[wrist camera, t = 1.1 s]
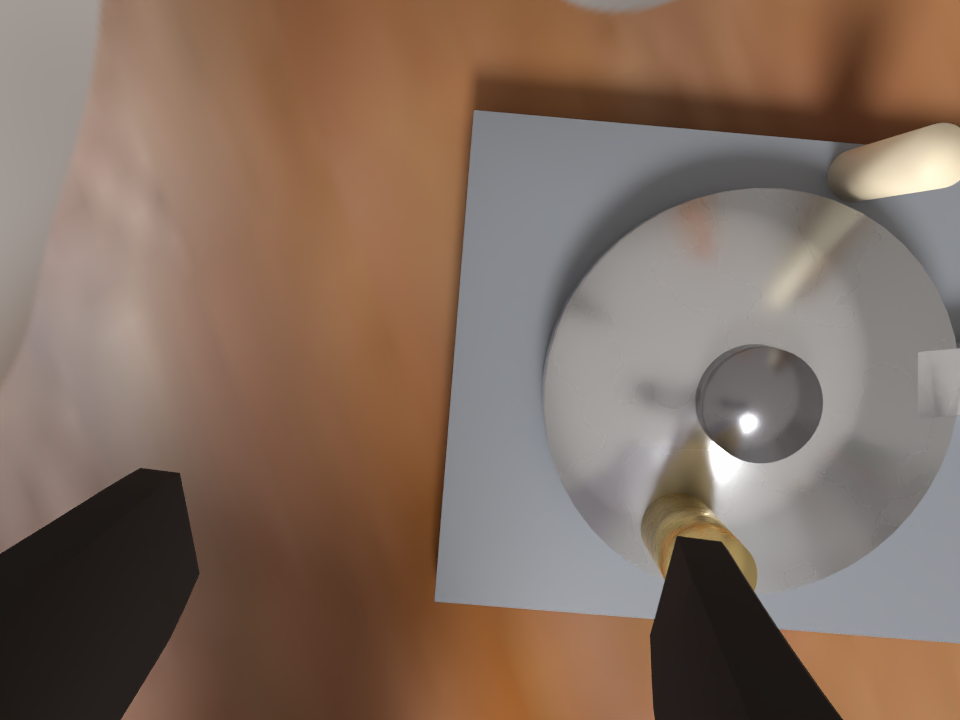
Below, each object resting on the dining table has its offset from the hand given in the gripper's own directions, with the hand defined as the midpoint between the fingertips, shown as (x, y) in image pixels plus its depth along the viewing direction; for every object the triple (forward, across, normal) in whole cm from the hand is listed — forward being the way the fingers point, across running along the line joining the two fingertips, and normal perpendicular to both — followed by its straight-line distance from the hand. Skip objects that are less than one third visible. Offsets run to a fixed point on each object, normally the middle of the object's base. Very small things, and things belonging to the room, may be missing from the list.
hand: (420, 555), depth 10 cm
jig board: (+11, -7, +3) cm, 14 cm away
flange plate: (+10, -8, +3) cm, 13 cm away
